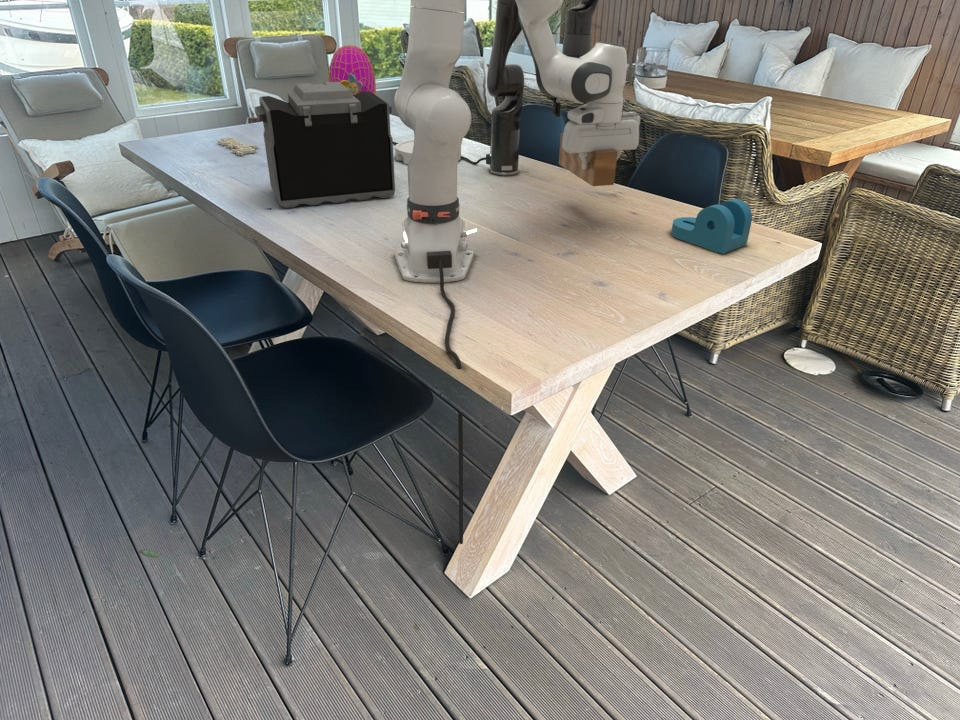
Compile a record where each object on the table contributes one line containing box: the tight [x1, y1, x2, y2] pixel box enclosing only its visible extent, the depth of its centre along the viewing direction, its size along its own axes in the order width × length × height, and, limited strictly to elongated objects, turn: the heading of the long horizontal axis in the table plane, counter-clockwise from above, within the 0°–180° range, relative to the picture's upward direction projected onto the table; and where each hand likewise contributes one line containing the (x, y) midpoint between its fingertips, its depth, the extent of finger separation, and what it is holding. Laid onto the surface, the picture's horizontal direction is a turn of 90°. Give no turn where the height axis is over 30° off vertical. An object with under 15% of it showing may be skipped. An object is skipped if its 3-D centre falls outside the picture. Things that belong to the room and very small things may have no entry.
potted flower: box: [340, 73, 363, 96], centre depth 255 cm, size 9×8×25 cm
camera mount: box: [670, 198, 753, 255], centre depth 173 cm, size 18×10×10 cm, turn 39°
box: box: [558, 132, 618, 187], centre depth 184 cm, size 22×6×9 cm, turn 18°
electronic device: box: [254, 81, 396, 209], centre depth 199 cm, size 37×22×30 cm, turn 111°
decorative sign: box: [217, 136, 259, 156], centre depth 254 cm, size 26×1×10 cm
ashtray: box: [394, 139, 462, 165], centre depth 243 cm, size 23×23×4 cm
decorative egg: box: [328, 44, 377, 96], centre depth 286 cm, size 19×19×30 cm
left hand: (598, 168), depth 178 cm, fingers closed on box, 6 cm apart
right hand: (571, 115), depth 189 cm, fingers open, 8 cm apart
